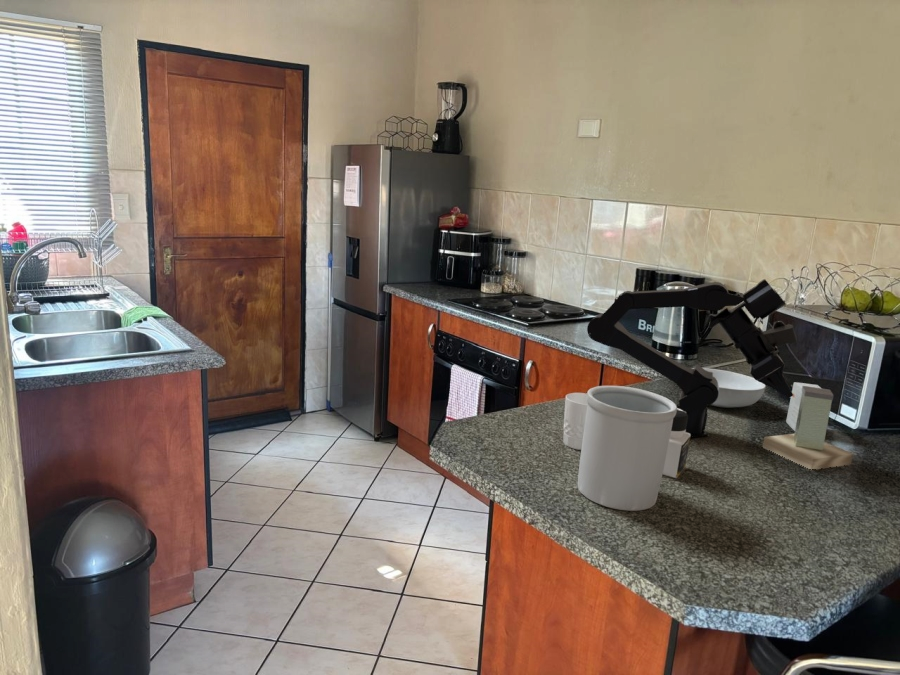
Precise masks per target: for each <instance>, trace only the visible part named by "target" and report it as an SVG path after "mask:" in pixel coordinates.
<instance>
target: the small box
mask: <svg viewBox="0 0 900 675" xmlns="http://www.w3.org/2000/svg"><path fill="white" fill-rule="evenodd" d="M802 386H808V387H815V388H822V387H821V386H819V385H818V384H811V383H805V382H804V383H803V382H798V381H797V382H793V384H792V390H791V392H792V393H793V396H791V397H790V398H789V399H790V401H789V404H788V410H787V416H786V420H785V422H786V424H787V425H788V426H789V427H790V428H791V429H792V430H793V431H794V432H795V428H796V423H797V417H798V412H799V406H800V401H801V395H802Z"/></svg>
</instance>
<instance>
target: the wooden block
mask: <svg viewBox="0 0 900 675" xmlns="http://www.w3.org/2000/svg"><path fill="white" fill-rule="evenodd" d="M794 434H795V433H788V434H787V433H786V434H780V435H771V436H764V437H763V443H762V447H763V449H764V450H767V451H769V450H770V451H769V452H771V451H772V452H771V453H773V452H774V453H773V454H775V453H776V454H775V455H777V454H778V456H779V455H780V457H782V456H783V457H782V458H784V457H785V458H784V459H786V460H788V459H789V460H788V461H790V460H791V462H792V461H793V462H792V463H794V462H795V463H794V464H796V463H797V464H796V465H799V464H800V465H799V466H801V465H802V466H801V467H803V466H804V467H803V468H805V467H806V468H805V469H807V468H808V469H807V470H809V469H811V470H810V471H813V470H812V469H816V470H821V468H823V469H828V468H829V467H831V468H838V467H844V465H845V466H850V465H851V464H852V460H853V455H854V454H853V453H852V452H850V451H848V450H845V449H843V448H840V447H839V446H836V445H833V444H831V443H829V442H827V441H824V445H823V451H822V450H816V449H811V448H805V447H799V446H796V445H795V442H794ZM836 466H837V467H836Z"/></svg>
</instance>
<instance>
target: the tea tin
mask: <svg viewBox="0 0 900 675" xmlns="http://www.w3.org/2000/svg"><path fill="white" fill-rule="evenodd" d="M833 400H834V393H833V392H832V390H831V389H827V388H822V387H821V388H815V387H808V386H802V395H801V401H800V406H799V412H798V417H797V423H796V428H795V431H794V433H793V434H794V442H795V445H796V446H799V447H805V448H811V449H816V450H822V451H823V445H824V442H825V440H826V434H827V429H828V423H829V420H830V419H829V418H830V414H831V408H832V402H833Z"/></svg>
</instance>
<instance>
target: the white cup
mask: <svg viewBox="0 0 900 675" xmlns="http://www.w3.org/2000/svg"><path fill="white" fill-rule="evenodd" d="M564 402H565V403H564V416H563V435H562V436H563V437H562V442H563V444H564V445H565V446H566V447H568V448H571V449H573V450H578V451H581V449H582V442H583V433H584V426H585V418H586V411H587V404H588V402H587V393H586V392H585V393H584V392H572V393H570V392H569V393H568V394H565V399H564Z"/></svg>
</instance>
